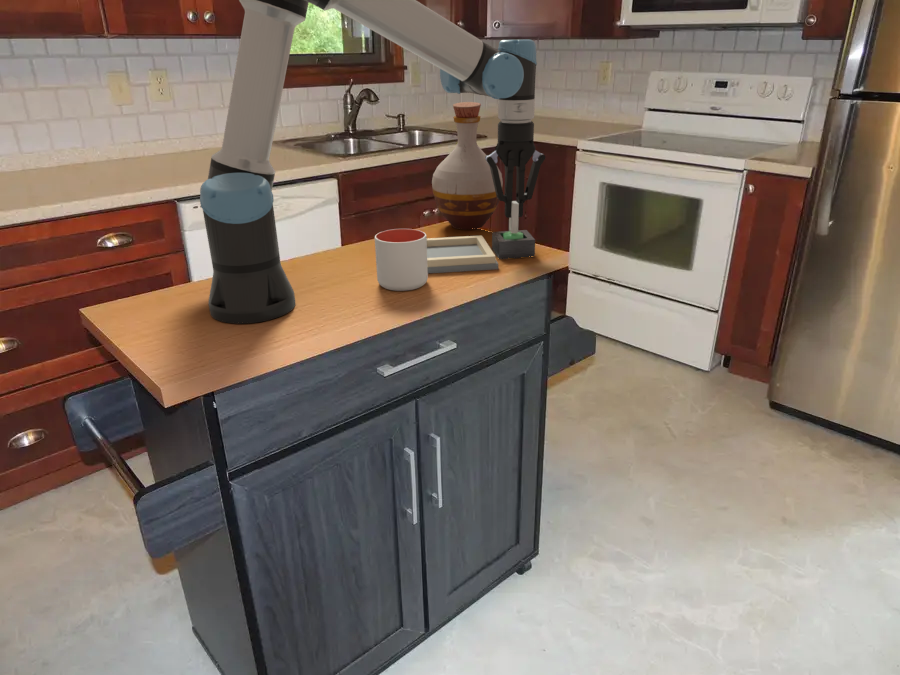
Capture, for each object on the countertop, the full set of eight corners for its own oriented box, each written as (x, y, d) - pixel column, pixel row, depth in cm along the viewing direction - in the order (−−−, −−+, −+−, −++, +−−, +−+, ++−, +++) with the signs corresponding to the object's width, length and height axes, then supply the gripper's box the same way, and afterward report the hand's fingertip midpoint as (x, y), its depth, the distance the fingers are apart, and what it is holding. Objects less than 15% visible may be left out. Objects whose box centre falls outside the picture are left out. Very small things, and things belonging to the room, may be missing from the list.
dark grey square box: (499, 259, 146) (499, 241, 144) (492, 248, 153) (492, 231, 151) (534, 257, 146) (535, 239, 145) (525, 246, 154) (526, 230, 152)
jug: (441, 214, 183) (439, 99, 170) (506, 216, 180) (508, 99, 167) (426, 233, 165) (422, 106, 153) (497, 236, 162) (499, 107, 150)
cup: (427, 275, 137) (426, 227, 133) (428, 292, 128) (426, 242, 124) (379, 276, 137) (376, 229, 132) (376, 293, 127) (372, 243, 123)
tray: (417, 274, 137) (417, 261, 136) (411, 250, 153) (410, 238, 152) (498, 269, 139) (498, 256, 138) (483, 246, 155) (483, 234, 154)
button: (505, 251, 147) (505, 237, 146) (501, 245, 151) (501, 231, 149) (524, 250, 147) (525, 236, 146) (520, 244, 151) (520, 230, 150)
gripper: (488, 123, 134) (487, 237, 143) (551, 121, 135) (546, 234, 145) (481, 119, 140) (481, 228, 150) (541, 117, 142) (537, 225, 152)
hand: (513, 231), depth 148 cm, fingers closed
